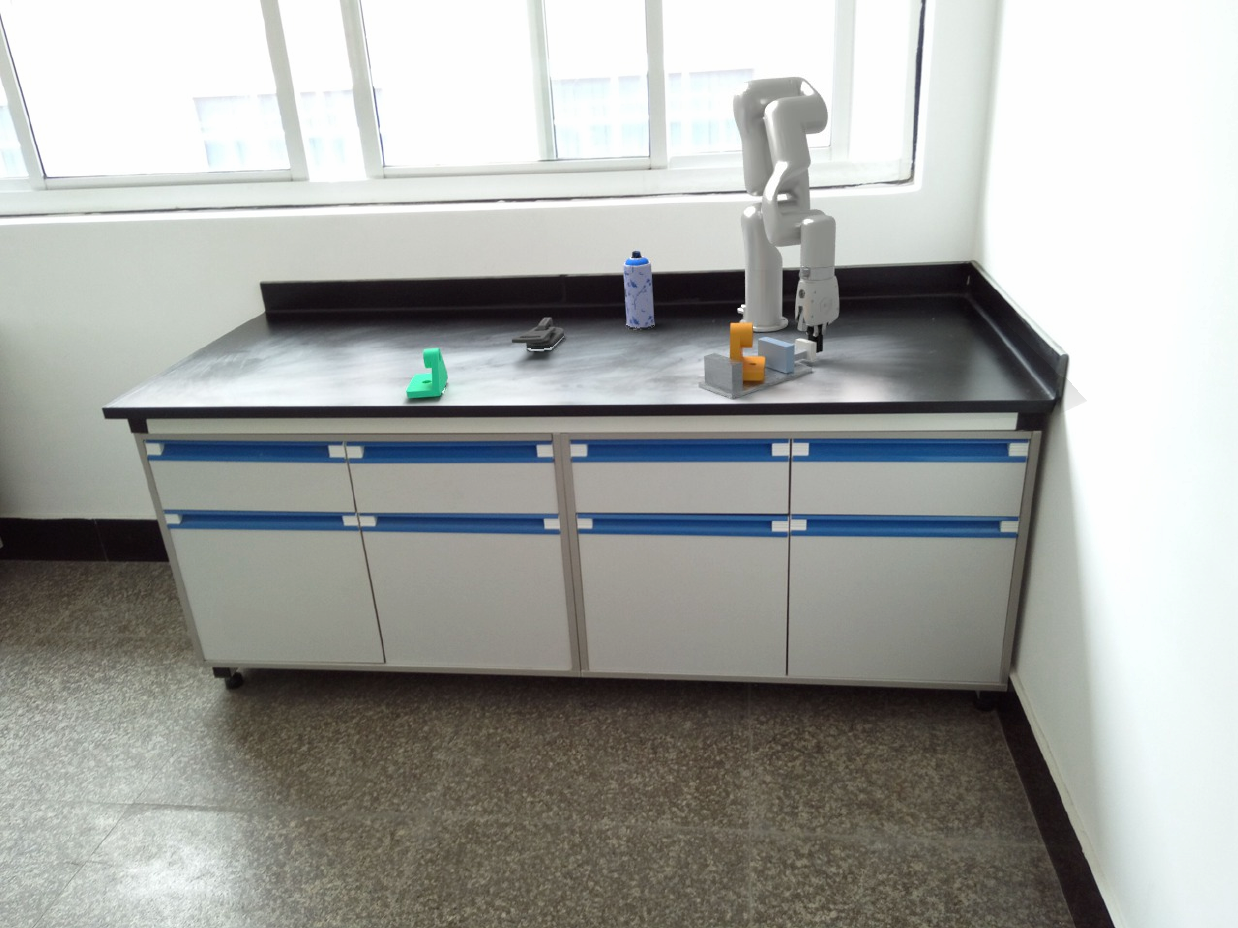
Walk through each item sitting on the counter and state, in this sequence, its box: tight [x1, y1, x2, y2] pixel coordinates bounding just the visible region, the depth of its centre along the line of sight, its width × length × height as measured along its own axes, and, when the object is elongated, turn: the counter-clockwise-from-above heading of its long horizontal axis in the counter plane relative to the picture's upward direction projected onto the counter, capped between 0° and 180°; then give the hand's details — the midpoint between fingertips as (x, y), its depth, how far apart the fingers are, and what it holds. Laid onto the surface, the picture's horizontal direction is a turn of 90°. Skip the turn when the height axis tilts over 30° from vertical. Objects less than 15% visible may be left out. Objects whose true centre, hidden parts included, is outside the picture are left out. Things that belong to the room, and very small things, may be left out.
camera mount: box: [405, 347, 449, 399], centre depth 207 cm, size 12×8×10 cm, turn 2°
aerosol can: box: [622, 250, 656, 328], centre depth 243 cm, size 8×8×20 cm
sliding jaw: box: [757, 336, 817, 373], centre depth 206 cm, size 9×12×6 cm
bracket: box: [729, 322, 765, 380], centre depth 199 cm, size 11×7×12 cm, turn 169°
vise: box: [698, 352, 813, 399], centre depth 201 cm, size 11×24×7 cm, turn 125°
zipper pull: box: [511, 317, 565, 349], centre depth 232 cm, size 9×7×25 cm
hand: (815, 350), depth 211 cm, fingers closed
